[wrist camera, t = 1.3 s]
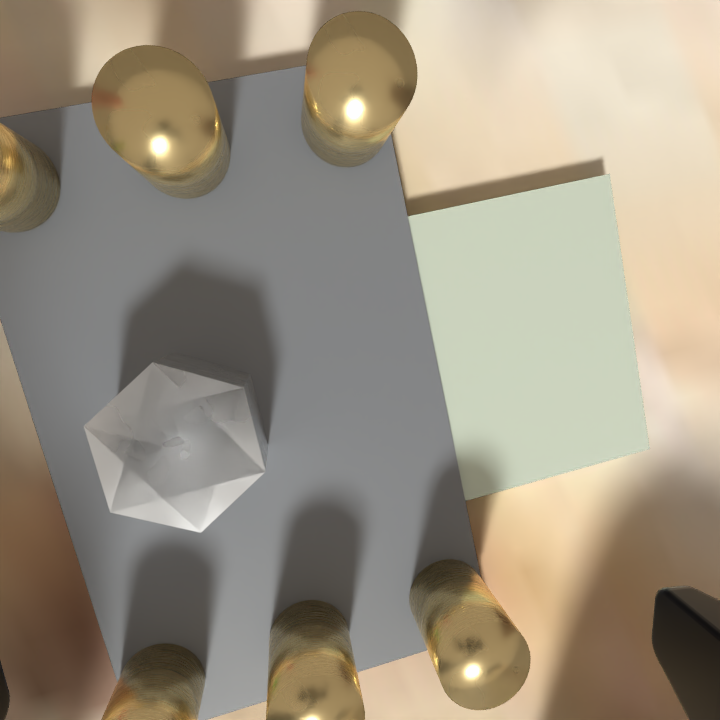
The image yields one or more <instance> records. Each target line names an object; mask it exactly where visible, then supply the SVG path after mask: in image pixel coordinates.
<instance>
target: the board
mask: <svg viewBox="0 0 720 720" xmlns="http://www.w3.org/2000/svg"><path fill="white" fill-rule="evenodd" d="M305 73H306V66H300V67H294V68H289V69H283V70H277V71H271V72H265V73H259V74H253V75H248V76H242V77H236V78H230V79H224V80H218V81H213V82H207V83H208V85H209V87H210V89H211V92H212V95H213V98H214V101H215V104H216V107H217V110H218V113H219V116H220V119H221V122H222V125H223V127H224V130H225V133H226V136H227V139H228V143H229V147H230V164H229V168H228V171H227V174H226V175H225V177H224V179H223V181H222V182H221V183H220V184H219V185H218V186H217V188H215V189H214V190H213V191H211V192H210V193H208V194H206V195H204V196H201V197H198V198H192V199H181V198H175V197H172V196H169V195H167V194H165V193H163V192H161V191H159V190H158V189H157V188H155V187H154V186H153V185H152V184H151V183H150V182H148V181H147V180H146V179H145V178H144V177H143V176H142V175H141V174H139V173H138V172H137V171H136V170H135V169H134V168H133V167H132V166H130V165H129V164H128V163H127V162H126V161H125V160H124V159H123V158H121V157H120V156H119V155H118V154H117V153H116V152H115V151H114V150H113V149H112V148H111V147H110V146H109V145H108V144H107V143H106V142H105V140H104V139H103V137H102V136H101V134H100V132H99V130H98V128H97V126H96V123H95V120H94V117H93V112H92V102H90V103H84V104H78V105H72V106H67V107H61V108H55V109H49V110H43V111H37V112H31V113H26V114H20V115H14V116H8V117H2V118H0V123H2V124H3V125H5V126H6V127H8V128H10V129H11V130H13V131H14V132H16V133H17V134H19V135H21V136H22V137H24V138H25V139H27V140H28V141H30V142H32V143H33V144H35V145H36V146H38V147H39V148H40V149H41V150H43V151H44V152H45V153H46V154H47V156H48V157H49V158H50V159H51V161H52V162H53V164H54V166H55V168H56V170H57V173H58V175H59V180H60V188H61V189H60V198H59V202H58V205H57V207H56V209H55V211H54V213H53V214H52V215H51V217H50V218H49V219H48V220H47V221H46V222H44V223H43V224H42V225H40V226H38V227H37V228H35V229H32V230H29V231H25V232H19V233H10V232H3V231H0V319H1V323H2V326H3V329H4V332H5V335H6V338H7V341H8V344H9V347H10V350H11V354H12V357H13V360H14V363H15V366H16V369H17V372H18V375H19V378H20V381H21V385H22V388H23V391H24V394H25V397H26V400H27V403H28V406H29V409H30V413H31V416H32V419H33V422H34V425H35V428H36V431H37V434H38V437H39V440H40V444H41V447H42V450H43V453H44V456H45V459H46V462H47V465H48V468H49V471H50V475H51V478H52V481H53V484H54V487H55V490H56V493H57V496H58V499H59V502H60V506H61V509H62V512H63V515H64V518H65V521H66V524H67V527H68V530H69V533H70V537H71V540H72V543H73V546H74V549H75V552H76V555H77V558H78V561H79V565H80V568H81V571H82V574H83V577H84V580H85V583H86V586H87V589H88V592H89V596H90V599H91V602H92V605H93V608H94V611H95V614H96V617H97V620H98V623H99V627H100V630H101V633H102V636H103V639H104V642H105V645H106V648H107V651H108V654H109V658H110V661H111V664H112V667H113V670H114V673H115V676H116V679H117V682H118V680H119V678H120V675H121V673H122V671H123V669H124V667H125V665H126V664H127V662H128V661H129V660H130V659H131V658H132V657H133V656H134V655H135V654H136V653H137V652H139V651H141V650H142V649H144V648H146V647H149V646H152V645H156V644H175V645H179V646H182V647H184V648H186V649H188V650H190V651H191V652H192V653H194V654H195V655H196V656H197V658H198V659H199V660H200V662H201V664H202V666H203V668H204V672H205V686H204V691H203V696H202V700H201V705H200V710H199V715H198V720H207V719H211V718H214V717H217V716H220V715H223V714H226V713H230V712H233V711H236V710H239V709H242V708H246V707H249V706H252V705H255V704H258V703H261V702H265V701H267V685H268V660H269V637H270V631H271V628H272V626H273V624H274V622H275V620H276V619H277V617H278V616H279V615H280V614H281V613H282V612H283V611H284V610H285V609H287V608H288V607H290V606H291V605H293V604H295V603H298V602H301V601H306V600H319V601H323V602H327V603H329V604H331V605H333V606H334V607H336V608H337V609H338V610H339V611H340V612H341V613H342V615H343V616H344V618H345V620H346V622H347V625H348V630H349V635H350V640H351V645H352V650H353V655H354V660H355V665H356V670H357V672H360V671H363V670H366V669H369V668H372V667H376V666H379V665H382V664H385V663H388V662H391V661H395V660H398V659H401V658H404V657H407V656H410V655H414V654H417V653H420V652H423V651H426V650H427V648H426V645H425V643H424V641H423V638H422V636H421V633H420V631H419V629H418V626H417V624H416V621H415V619H414V617H413V614H412V612H411V609H410V604H409V595H410V590H411V587H412V584H413V582H414V580H415V578H416V577H417V576H418V574H419V573H420V572H421V571H422V570H423V569H425V568H426V567H427V566H429V565H430V564H432V563H434V562H437V561H440V560H446V559H454V560H459V561H463V562H465V563H467V564H468V565H470V566H471V567H472V568H474V570H475V571H476V572H477V573H478V575H479V576H480V571H479V566H478V561H477V556H476V551H475V546H474V541H473V536H472V531H471V526H470V521H469V516H468V512H467V507H466V502H465V497H464V492H463V487H462V482H461V477H460V472H459V467H458V462H457V457H456V452H455V447H454V442H453V438H452V433H451V428H450V423H449V418H448V413H447V408H446V403H445V398H444V393H443V388H442V383H441V378H440V373H439V369H438V364H437V359H436V354H435V349H434V344H433V339H432V334H431V329H430V324H429V319H428V314H427V309H426V304H425V299H424V295H423V290H422V285H421V280H420V275H419V270H418V265H417V260H416V255H415V250H414V245H413V240H412V235H411V230H410V225H409V221H408V216H407V211H406V206H405V201H404V196H403V191H402V186H401V181H400V176H399V171H398V166H397V161H396V156H395V152H394V147H393V142H392V137H391V134H390V135H389V137H388V138H387V140H386V142H385V143H384V145H383V146H382V148H381V149H380V151H379V152H378V153H377V154H376V155H375V156H374V157H373V158H372V159H371V160H369V161H368V162H366V163H364V164H362V165H359V166H356V167H337V166H334V165H331V164H329V163H327V162H325V161H323V160H322V159H320V158H319V157H318V156H317V155H316V154H315V153H314V152H313V151H312V150H311V148H310V147H309V145H308V144H307V142H306V140H305V137H304V135H303V131H302V126H301V113H302V103H303V93H304V83H305ZM173 352H175V353H179V354H182V355H186V356H189V357H193V358H197V359H200V360H204V361H207V362H211V363H214V364H218V365H221V366H225V367H229V368H232V369H236V370H239V371H243V372H246V373H250V375H251V379H252V383H253V387H254V391H255V395H256V399H257V403H258V407H259V410H260V414H261V418H262V422H263V426H264V430H265V434H266V438H267V442H268V453H267V463H266V472H265V473H264V474H263V475H262V476H260V477H259V478H258V479H257V480H256V481H255V482H254V483H253V484H252V485H251V486H250V487H249V488H248V489H247V490H246V491H245V492H244V493H242V494H241V495H240V496H239V497H238V498H237V499H236V500H235V501H234V502H233V503H232V504H231V505H230V506H229V507H228V508H227V509H226V510H224V511H223V512H222V513H221V514H220V515H219V516H218V517H217V518H216V519H215V520H214V521H213V522H212V523H211V524H210V525H209V526H208V527H206V528H205V529H204V530H203V531H202V532H201V533H200V532H195V531H191V530H186V529H182V528H177V527H173V526H168V525H164V524H160V523H155V522H151V521H146V520H142V519H137V518H133V517H128V516H124V515H119V514H115V513H110V510H109V507H108V504H107V501H106V497H105V494H104V491H103V488H102V484H101V481H100V478H99V475H98V471H97V468H96V465H95V462H94V458H93V455H92V452H91V449H90V445H89V442H88V439H87V436H86V432H85V429H84V425H85V424H87V423H88V422H89V421H90V420H91V419H92V418H93V417H94V416H95V415H96V414H97V413H98V412H100V411H101V410H102V409H103V408H104V407H105V406H106V405H107V404H108V403H109V402H110V401H111V400H112V399H114V398H115V397H116V396H117V395H118V394H119V393H120V392H121V391H122V390H123V389H124V388H125V387H126V386H128V385H129V384H130V383H131V382H132V381H133V380H134V379H135V378H136V377H137V376H138V375H139V374H141V373H142V372H143V371H144V370H145V369H146V368H147V367H148V366H149V365H150V364H151V363H152V362H154V361H156V360H158V359H161V358H163V357H165V356H167V355H169V354H171V353H173ZM480 577H481V576H480Z"/></svg>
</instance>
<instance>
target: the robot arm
mask: <svg viewBox="0 0 720 720" xmlns="http://www.w3.org/2000/svg"><path fill="white" fill-rule="evenodd" d="M652 644H653V648H654V652H655V654H656V657H657V659H658V661H659V663H660V665H661V667H662V669H663V671H664V672H665V674H666V676H667V678H668V680H669V682H670V684H671V686H672V688H673V690H674V692H675V694H676V696H677V698H678V699H679V701H680V703H681V705H682V707H683V709H684V711H685V713H686V715H687V717H688V719H689V720H720V601H719V600H717V599H715V598H713V597H711V596H709V595H707V594H705V593H703V592H701V591H699V590H697V589H695V588H693V587H690V586H677V587H665V588H662V589H660V590H658V592H657V594H656V597H655V606H654V617H653V628H652ZM9 702H10V695H9V690H8V686H7V683H6V679H5V676H4V672H3V669H2V665H1V661H0V720H5V717H6V715H7V712H8V708H9Z"/></svg>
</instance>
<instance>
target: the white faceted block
mask: <svg viewBox="0 0 720 720" xmlns="http://www.w3.org/2000/svg"><path fill="white" fill-rule="evenodd" d="M84 429H85V432H86V436H87V439H88V442H89V445H90V449H91V452H92V455H93V458H94V462H95V465H96V468H97V471H98V475H99V478H100V481H101V484H102V488H103V491H104V494H105V497H106V501H107V504H108V507H109V510H110V513H115V514H119V515H124V516H128V517H133V518H137V519H142V520H146V521H151V522H155V523H160V524H164V525H168V526H173V527H177V528H182V529H186V530H191V531H195V532H200V533H201V532H202V531H203V530H204V529H205V528H206V527H208V526H209V525H210V524H211V523H212V522H213V521H214V520H215V519H216V518H217V517H218V516H219V515H220V514H221V513H222V512H223V511H224V510H226V509H227V508H228V507H229V506H230V505H231V504H232V503H233V502H234V501H235V500H236V499H237V498H238V497H239V496H240V495H241V494H242V493H244V492H245V491H246V490H247V489H248V488H249V487H250V486H251V485H252V484H253V483H254V482H255V481H256V480H257V479H258V478H259V477H260V476H262V475H263V474H264V473H265V472H266V463H267V453H268V442H267V438H266V434H265V430H264V426H263V422H262V418H261V414H260V410H259V407H258V403H257V399H256V395H255V391H254V387H253V383H252V379H251V375H250V373H246V372H243V371H239V370H236V369H232V368H229V367H225V366H221V365H218V364H214V363H211V362H207V361H204V360H200V359H197V358H193V357H189V356H186V355H182V354H179V353H175V352H173V353H171V354H169V355H167V356H165V357H163V358H161V359H158V360H156V361H154V362H152V363H151V364H150V365H149V366H148V367H147V368H146V369H145V370H144V371H143V372H142V373H141V374H139V375H138V376H137V377H136V378H135V379H134V380H133V381H132V382H131V383H130V384H129V385H128V386H126V387H125V388H124V389H123V390H122V391H121V392H120V393H119V394H118V395H117V396H116V397H115V398H114V399H112V400H111V401H110V402H109V403H108V404H107V405H106V406H105V407H104V408H103V409H102V410H101V411H100V412H98V413H97V414H96V415H95V416H94V417H93V418H92V419H91V420H90V421H89V422H88V423H87V424H85V425H84Z"/></svg>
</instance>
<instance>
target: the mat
mask: <svg viewBox="0 0 720 720" xmlns="http://www.w3.org/2000/svg"><path fill="white" fill-rule="evenodd" d="M408 221H409V225H410V230H411V235H412V240H413V245H414V250H415V255H416V260H417V265H418V270H419V275H420V280H421V285H422V290H423V295H424V299H425V304H426V309H427V314H428V319H429V324H430V329H431V334H432V339H433V344H434V349H435V354H436V359H437V364H438V369H439V373H440V378H441V383H442V388H443V393H444V398H445V403H446V408H447V413H448V418H449V423H450V428H451V433H452V438H453V442H454V447H455V452H456V457H457V462H458V467H459V472H460V477H461V482H462V487H463V492H464V497H465V501H467V500H471V499H475V498H478V497H482V496H485V495H489V494H492V493H496V492H499V491H503V490H506V489H510V488H514V487H517V486H521V485H524V484H528V483H531V482H535V481H538V480H542V479H545V478H549V477H552V476H556V475H560V474H563V473H567V472H570V471H574V470H577V469H581V468H584V467H588V466H591V465H595V464H599V463H602V462H606V461H609V460H613V459H616V458H620V457H623V456H627V455H630V454H634V453H637V452H641V451H645V450H648V449H650V447H649V440H648V433H647V426H646V420H645V413H644V406H643V399H642V392H641V385H640V379H639V372H638V365H637V358H636V351H635V344H634V338H633V331H632V324H631V317H630V310H629V303H628V297H627V290H626V283H625V276H624V269H623V262H622V256H621V249H620V242H619V235H618V228H617V221H616V215H615V208H614V201H613V194H612V187H611V180H610V174H606V175H602V176H597V177H592V178H588V179H583V180H578V181H573V182H569V183H564V184H559V185H554V186H550V187H545V188H540V189H535V190H531V191H526V192H521V193H516V194H512V195H507V196H502V197H498V198H493V199H488V200H483V201H479V202H474V203H469V204H464V205H460V206H455V207H450V208H445V209H441V210H436V211H431V212H426V213H422V214H417V215H412V216H408Z"/></svg>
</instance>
